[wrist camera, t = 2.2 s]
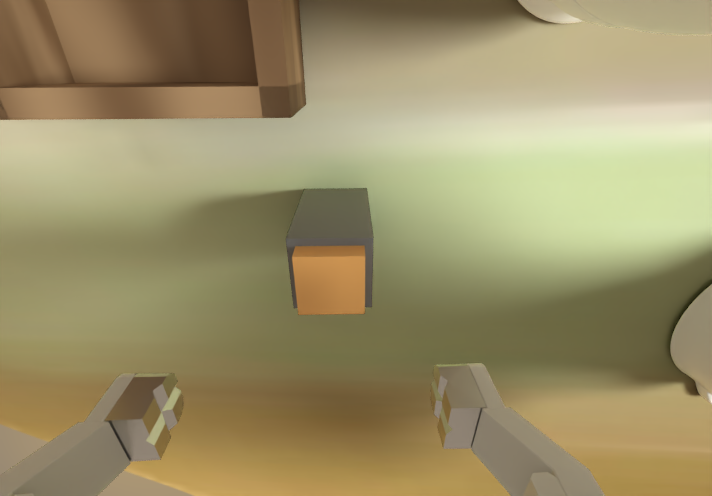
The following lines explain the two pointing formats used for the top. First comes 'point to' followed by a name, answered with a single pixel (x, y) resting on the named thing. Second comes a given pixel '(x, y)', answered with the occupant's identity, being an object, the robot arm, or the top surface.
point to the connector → (331, 252)
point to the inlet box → (150, 59)
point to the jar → (629, 14)
